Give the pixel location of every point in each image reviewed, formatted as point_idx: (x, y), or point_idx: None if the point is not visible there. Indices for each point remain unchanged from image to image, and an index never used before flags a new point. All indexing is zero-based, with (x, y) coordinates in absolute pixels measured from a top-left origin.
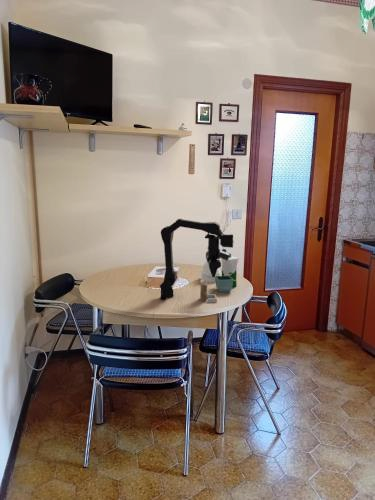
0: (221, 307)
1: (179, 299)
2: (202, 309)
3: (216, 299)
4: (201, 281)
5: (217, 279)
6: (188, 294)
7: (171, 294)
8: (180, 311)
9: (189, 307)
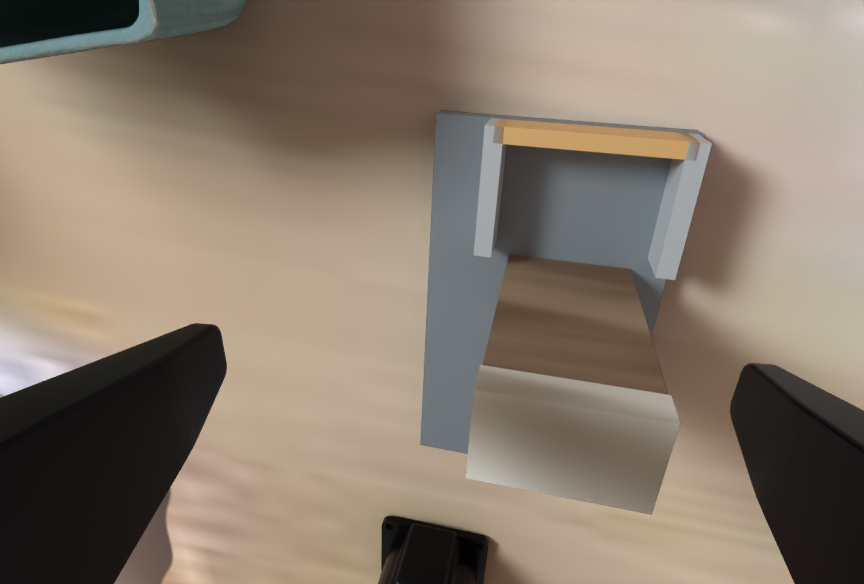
0: (854, 86)
1: (468, 479)
2: (849, 346)
3: (705, 151)
4: (545, 486)
5: (81, 50)
6: (313, 377)
7: (456, 575)
8: None
9: (734, 452)
